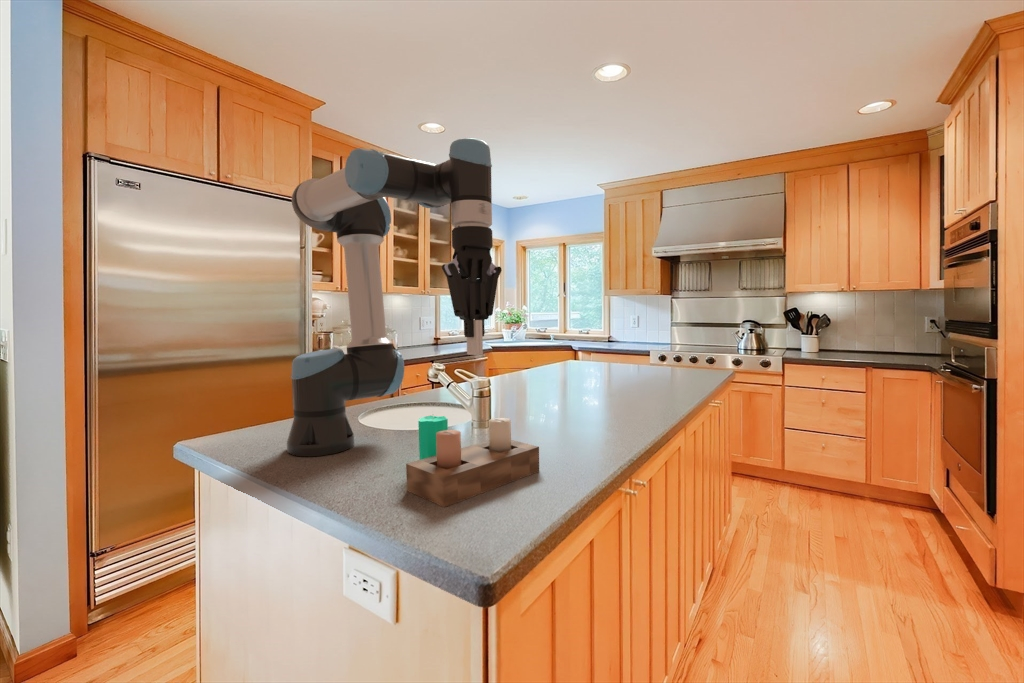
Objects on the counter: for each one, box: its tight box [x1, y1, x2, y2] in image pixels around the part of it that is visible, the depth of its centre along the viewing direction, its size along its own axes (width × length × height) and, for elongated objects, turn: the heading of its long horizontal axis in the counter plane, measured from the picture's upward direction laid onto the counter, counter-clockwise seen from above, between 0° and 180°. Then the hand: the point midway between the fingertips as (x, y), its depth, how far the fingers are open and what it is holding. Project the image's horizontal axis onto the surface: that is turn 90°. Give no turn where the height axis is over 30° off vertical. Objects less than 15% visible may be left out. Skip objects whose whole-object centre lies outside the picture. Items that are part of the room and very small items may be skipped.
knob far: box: [488, 417, 512, 453], centre depth 97 cm, size 4×4×6 cm
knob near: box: [436, 429, 462, 470], centre depth 88 cm, size 4×4×6 cm
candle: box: [417, 415, 449, 460], centre depth 100 cm, size 6×6×12 cm
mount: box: [405, 439, 540, 508], centre depth 93 cm, size 11×24×5 cm, turn 136°
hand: (474, 354), depth 91 cm, fingers closed
